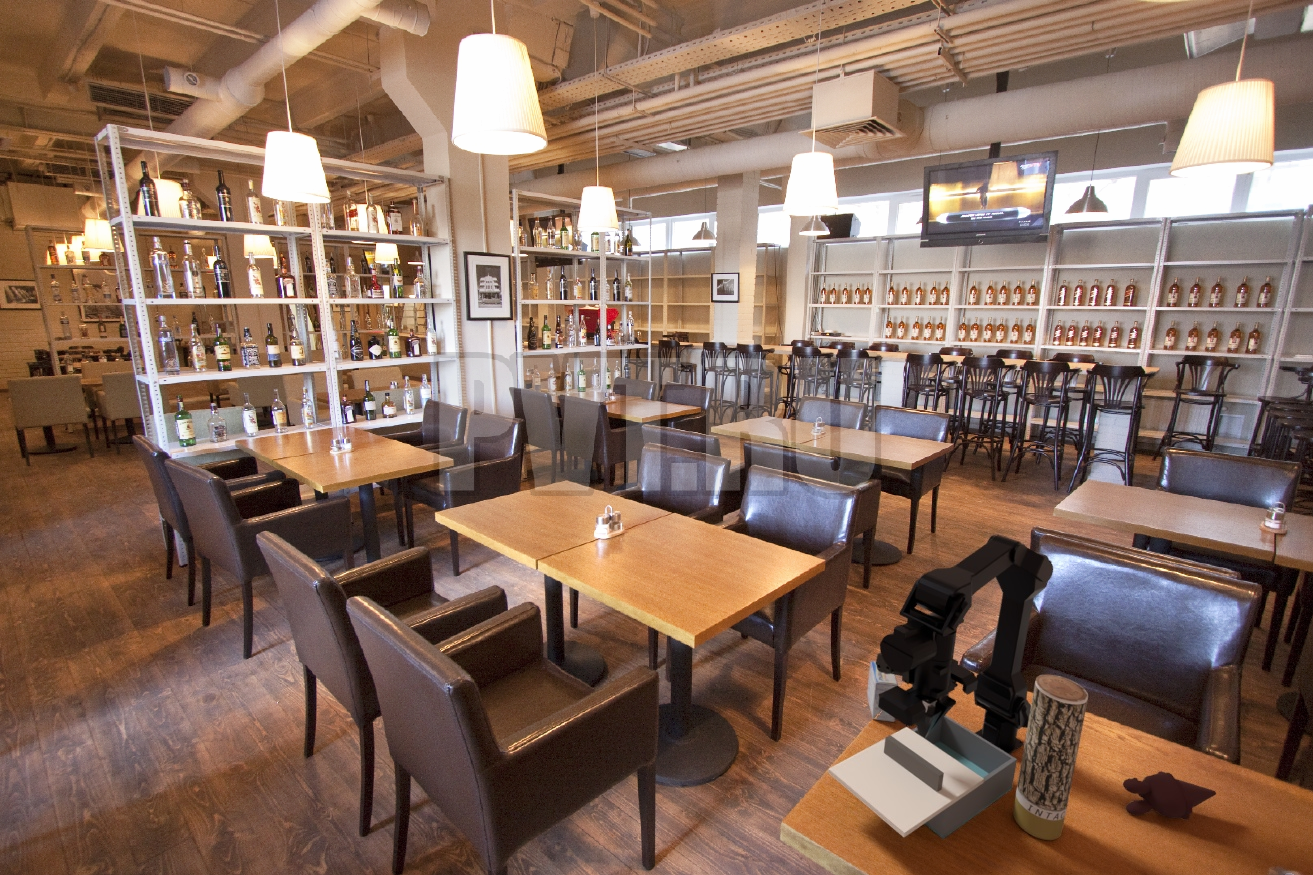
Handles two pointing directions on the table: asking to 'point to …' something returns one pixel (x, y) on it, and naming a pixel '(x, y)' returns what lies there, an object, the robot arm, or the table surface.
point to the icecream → (1165, 795)
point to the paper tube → (1049, 755)
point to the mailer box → (980, 760)
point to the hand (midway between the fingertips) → (923, 735)
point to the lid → (905, 779)
